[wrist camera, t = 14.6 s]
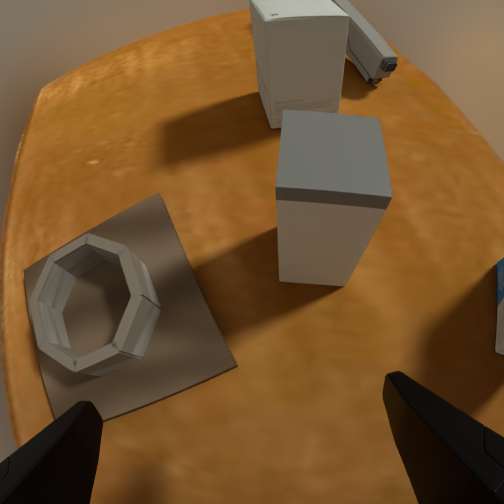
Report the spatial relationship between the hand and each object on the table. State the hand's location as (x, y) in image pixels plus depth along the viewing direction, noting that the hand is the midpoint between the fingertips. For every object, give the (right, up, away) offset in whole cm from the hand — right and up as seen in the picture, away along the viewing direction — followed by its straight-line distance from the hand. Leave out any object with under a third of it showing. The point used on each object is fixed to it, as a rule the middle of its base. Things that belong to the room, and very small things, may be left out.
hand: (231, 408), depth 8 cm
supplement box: (+5, +21, +24) cm, 32 cm away
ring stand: (-11, -1, +16) cm, 19 cm away
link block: (+5, +4, +16) cm, 18 cm away
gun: (+13, +34, +29) cm, 47 cm away
